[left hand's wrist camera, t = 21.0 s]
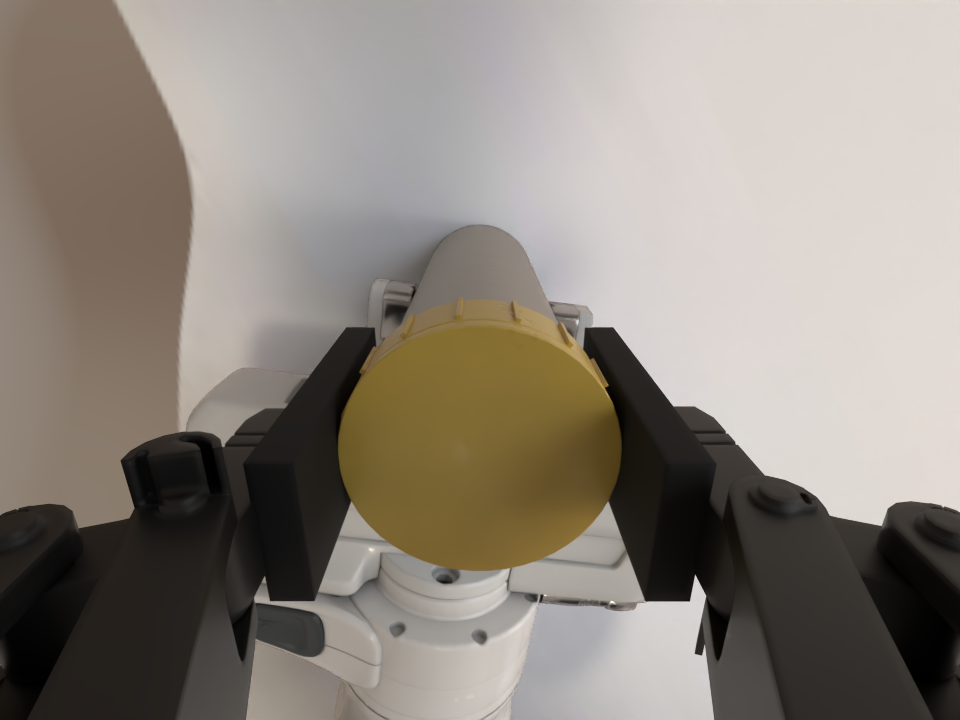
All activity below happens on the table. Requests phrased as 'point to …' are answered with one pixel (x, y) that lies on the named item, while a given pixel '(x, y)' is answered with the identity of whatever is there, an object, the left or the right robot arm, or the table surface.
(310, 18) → the table surface
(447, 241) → the jar
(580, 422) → the lid
